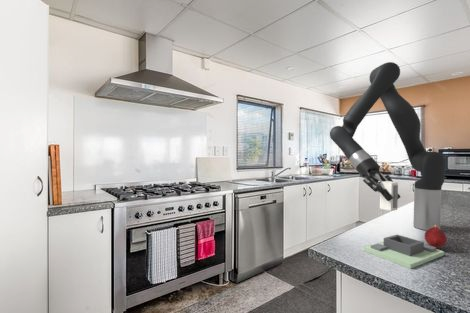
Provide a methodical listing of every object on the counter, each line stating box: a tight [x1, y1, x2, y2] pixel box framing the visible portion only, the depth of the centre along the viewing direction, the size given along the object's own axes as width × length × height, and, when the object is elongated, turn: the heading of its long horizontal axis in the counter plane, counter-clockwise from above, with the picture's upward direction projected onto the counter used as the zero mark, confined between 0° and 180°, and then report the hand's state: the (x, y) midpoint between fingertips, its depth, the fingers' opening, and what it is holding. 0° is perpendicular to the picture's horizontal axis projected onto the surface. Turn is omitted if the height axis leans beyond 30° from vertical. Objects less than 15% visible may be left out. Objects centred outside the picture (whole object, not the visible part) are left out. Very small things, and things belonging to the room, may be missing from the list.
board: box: [363, 234, 445, 270], centre depth 79 cm, size 20×14×4 cm
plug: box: [379, 181, 399, 212], centre depth 89 cm, size 4×5×10 cm
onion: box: [424, 225, 448, 250], centre depth 83 cm, size 6×6×8 cm
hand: (394, 198), depth 88 cm, fingers closed on plug, 4 cm apart
